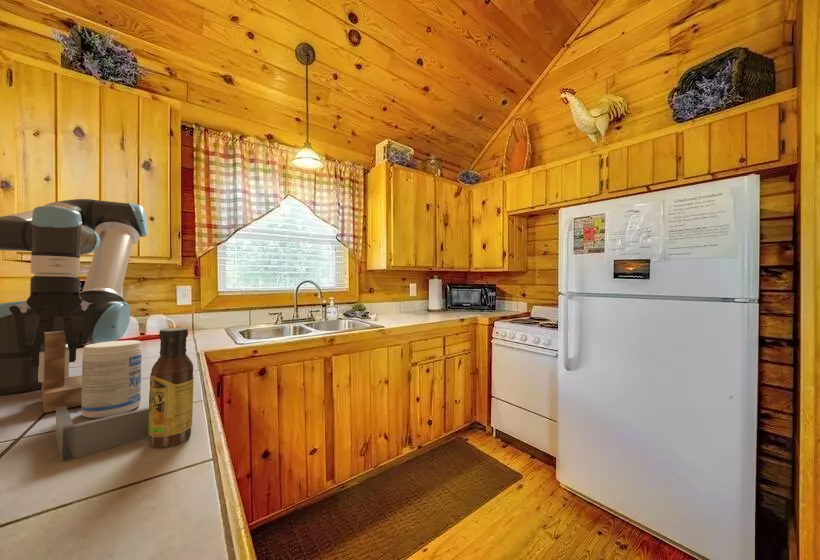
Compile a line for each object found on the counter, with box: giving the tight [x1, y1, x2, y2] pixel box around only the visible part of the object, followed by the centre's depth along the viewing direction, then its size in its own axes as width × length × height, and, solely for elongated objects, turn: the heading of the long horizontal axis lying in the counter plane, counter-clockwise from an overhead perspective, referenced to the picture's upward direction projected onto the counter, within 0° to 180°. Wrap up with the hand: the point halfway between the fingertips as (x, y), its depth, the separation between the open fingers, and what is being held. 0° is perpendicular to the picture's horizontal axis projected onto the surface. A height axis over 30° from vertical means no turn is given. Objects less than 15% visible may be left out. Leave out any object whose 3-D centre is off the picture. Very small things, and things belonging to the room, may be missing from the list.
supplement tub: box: [80, 339, 143, 419], centre depth 70 cm, size 10×10×15 cm
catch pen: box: [54, 406, 150, 462], centre depth 61 cm, size 14×17×5 cm
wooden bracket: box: [40, 331, 82, 414], centre depth 75 cm, size 10×13×16 cm
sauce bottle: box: [148, 326, 195, 448], centre depth 57 cm, size 6×6×20 cm
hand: (53, 378), depth 72 cm, fingers closed on wooden bracket, 3 cm apart
